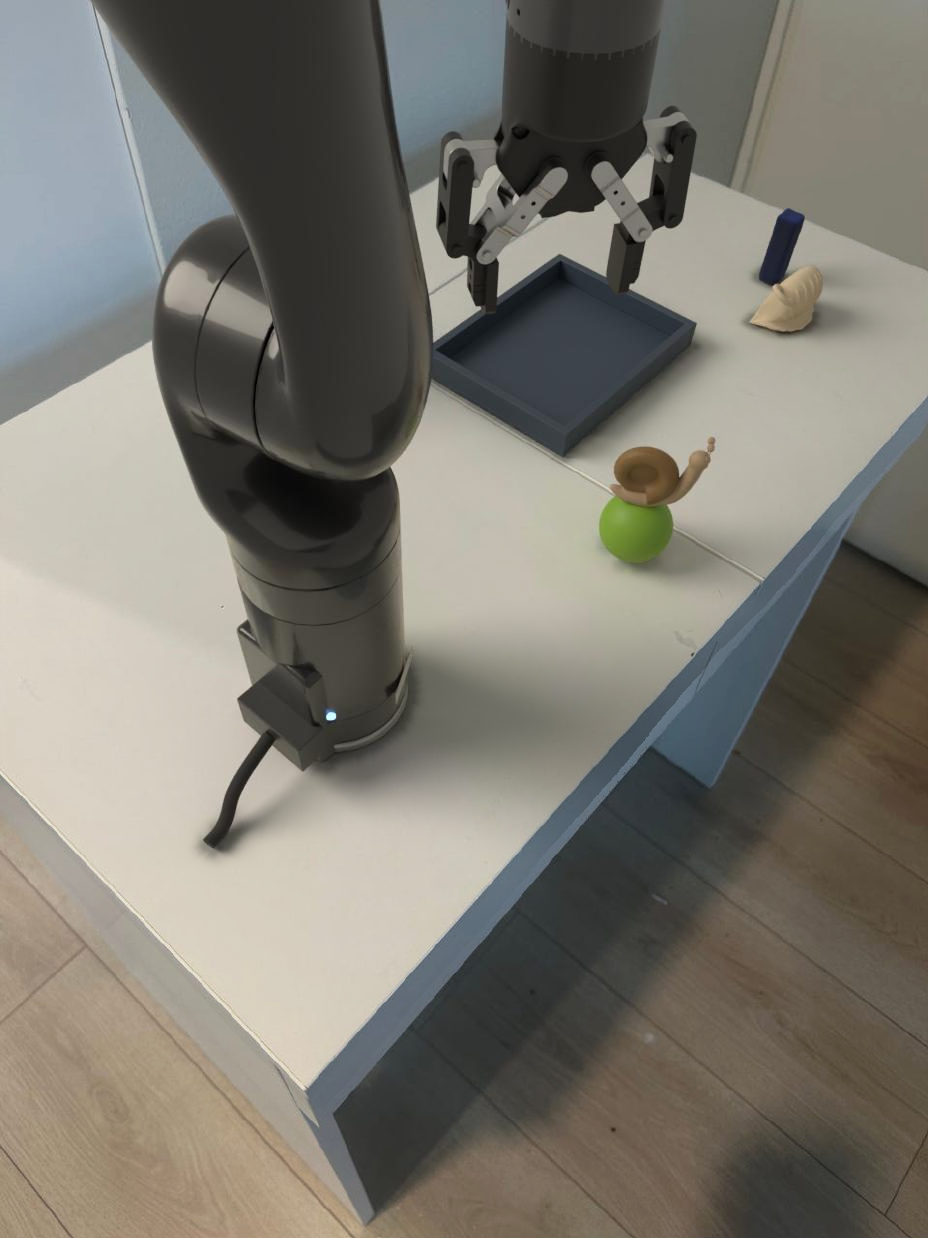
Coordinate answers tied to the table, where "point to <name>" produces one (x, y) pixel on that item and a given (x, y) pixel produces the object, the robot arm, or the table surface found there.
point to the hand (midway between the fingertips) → (552, 296)
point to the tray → (560, 353)
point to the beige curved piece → (791, 301)
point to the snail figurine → (646, 501)
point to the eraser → (781, 246)
